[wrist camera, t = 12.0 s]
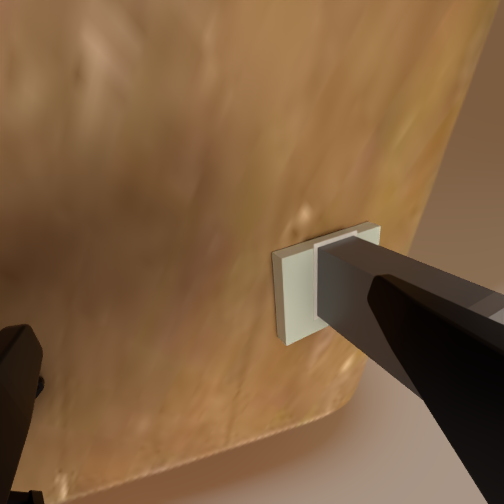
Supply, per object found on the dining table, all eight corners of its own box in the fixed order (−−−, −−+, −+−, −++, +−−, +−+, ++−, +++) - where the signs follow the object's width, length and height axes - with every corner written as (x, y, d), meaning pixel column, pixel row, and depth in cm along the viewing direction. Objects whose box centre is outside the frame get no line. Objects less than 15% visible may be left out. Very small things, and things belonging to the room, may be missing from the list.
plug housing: (317, 315, 27) (446, 418, 18) (317, 247, 24) (473, 326, 15) (349, 301, 29) (484, 388, 19) (353, 235, 26) (516, 299, 16)
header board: (277, 336, 28) (303, 364, 25) (271, 247, 24) (301, 266, 21) (361, 298, 32) (393, 317, 29) (368, 217, 28) (406, 229, 25)
